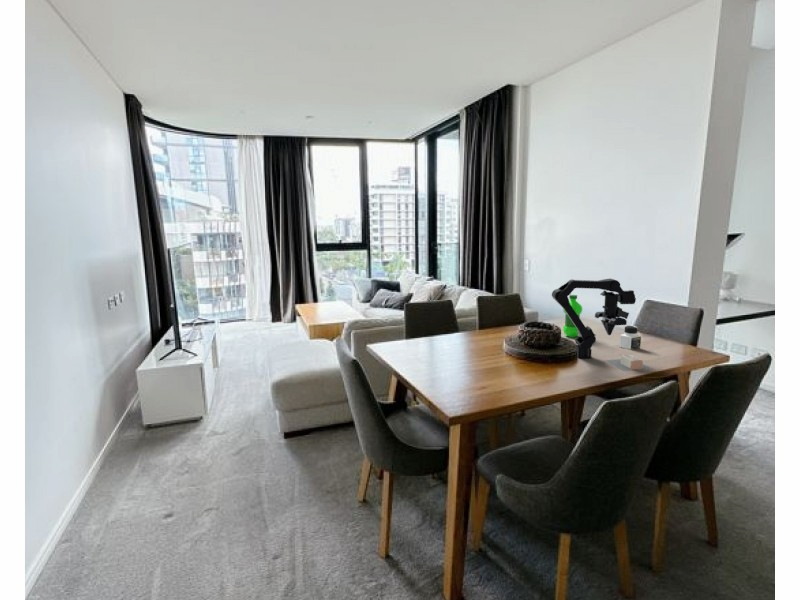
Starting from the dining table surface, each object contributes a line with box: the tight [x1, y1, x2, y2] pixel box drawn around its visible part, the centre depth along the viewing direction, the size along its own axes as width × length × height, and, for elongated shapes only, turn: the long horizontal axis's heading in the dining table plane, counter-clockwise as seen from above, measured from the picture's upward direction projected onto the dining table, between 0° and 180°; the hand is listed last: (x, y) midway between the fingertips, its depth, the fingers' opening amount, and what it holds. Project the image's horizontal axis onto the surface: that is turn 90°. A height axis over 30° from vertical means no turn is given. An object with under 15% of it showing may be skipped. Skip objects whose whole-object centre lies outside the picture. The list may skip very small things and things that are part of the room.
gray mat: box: [605, 358, 653, 371], centre depth 196 cm, size 14×15×1 cm
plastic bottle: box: [562, 294, 583, 338], centre depth 247 cm, size 10×10×25 cm
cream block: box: [620, 354, 644, 371], centre depth 193 cm, size 5×4×9 cm
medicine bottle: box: [619, 325, 642, 350], centre depth 221 cm, size 7×7×12 cm
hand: (609, 334), depth 205 cm, fingers closed
